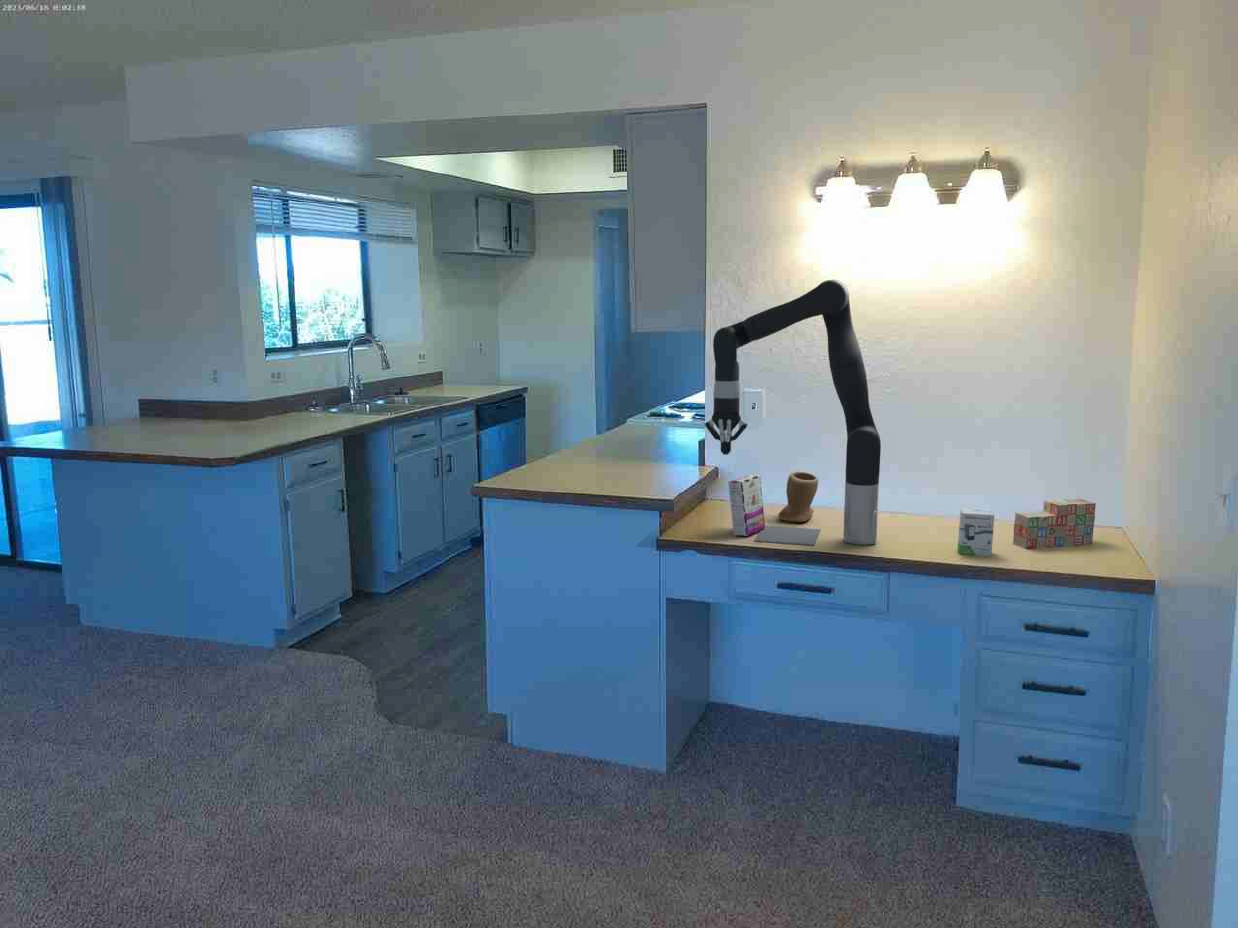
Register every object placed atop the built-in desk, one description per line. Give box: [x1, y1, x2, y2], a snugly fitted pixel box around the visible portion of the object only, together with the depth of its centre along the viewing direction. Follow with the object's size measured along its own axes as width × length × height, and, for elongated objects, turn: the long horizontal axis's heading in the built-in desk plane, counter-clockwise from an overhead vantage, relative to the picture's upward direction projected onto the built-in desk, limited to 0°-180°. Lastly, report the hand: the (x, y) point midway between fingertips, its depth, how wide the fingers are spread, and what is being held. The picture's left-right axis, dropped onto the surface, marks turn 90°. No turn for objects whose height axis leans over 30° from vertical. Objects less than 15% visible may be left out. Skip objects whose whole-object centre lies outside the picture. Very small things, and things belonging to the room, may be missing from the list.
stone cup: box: [777, 470, 819, 523], centre depth 305 cm, size 15×12×15 cm
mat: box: [753, 525, 821, 547], centre depth 286 cm, size 17×18×1 cm
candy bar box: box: [728, 474, 766, 537], centre depth 288 cm, size 11×5×16 cm, turn 143°
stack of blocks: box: [1012, 498, 1097, 550], centre depth 275 cm, size 21×6×12 cm, turn 103°
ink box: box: [957, 508, 995, 557], centre depth 266 cm, size 9×5×12 cm, turn 75°
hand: (725, 454), depth 287 cm, fingers closed
